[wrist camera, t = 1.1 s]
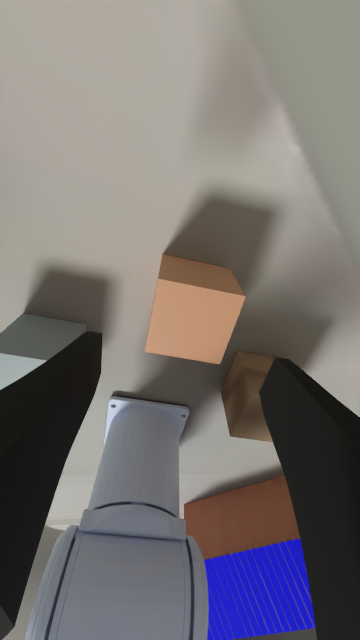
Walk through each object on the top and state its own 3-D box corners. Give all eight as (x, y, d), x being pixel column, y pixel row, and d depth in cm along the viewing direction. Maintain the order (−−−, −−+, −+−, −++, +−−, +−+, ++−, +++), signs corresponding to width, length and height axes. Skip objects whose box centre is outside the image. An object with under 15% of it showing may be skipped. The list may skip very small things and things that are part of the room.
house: (180, 502, 36) (182, 631, 25) (321, 460, 31) (392, 599, 21) (216, 533, 41) (229, 651, 31) (341, 502, 36) (406, 629, 26)
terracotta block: (210, 325, 21) (219, 364, 16) (151, 314, 20) (144, 351, 16) (229, 268, 18) (246, 296, 14) (162, 253, 18) (158, 278, 13)
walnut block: (268, 397, 25) (287, 443, 21) (220, 390, 24) (230, 436, 20) (289, 359, 23) (316, 402, 18) (237, 350, 22) (252, 392, 18)
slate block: (85, 369, 23) (64, 414, 19) (28, 360, 22) (-7, 404, 18) (87, 323, 21) (63, 363, 16) (23, 312, 20) (-19, 350, 16)
